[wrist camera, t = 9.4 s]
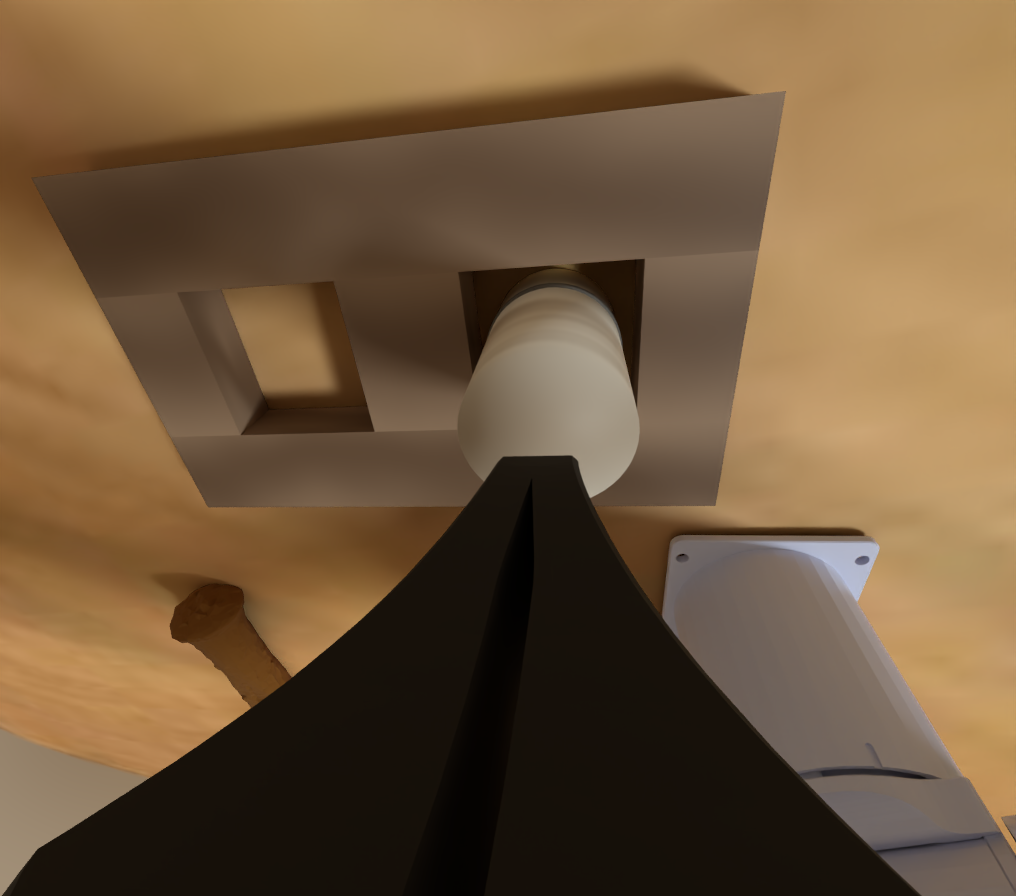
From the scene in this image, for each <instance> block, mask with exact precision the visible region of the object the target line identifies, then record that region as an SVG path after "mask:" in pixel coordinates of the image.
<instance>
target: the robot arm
mask: <svg viewBox="0 0 1016 896" xmlns="http://www.w3.org/2000/svg"><path fill="white" fill-rule="evenodd" d="M878 552H879V545H878V544H877V542H876V541H875V540H874V539H873V538H871V537H868V536H762V535H680V536H677V537H674V538H673V539H672V540H671V542H670V546H669V555H668V564H667V573H666V582H665V591H664V599H663V608H662V616H661V615H660V614H659V612H658V611H657V610H656V608H655V607H654V606H653V604H652V603H651V601H650V600H649V599H648V597H647V596H646V594H645V593H644V591H643V590H642V588H641V587H640V585H639V584H638V582H637V581H636V579H635V578H634V576H633V575H632V573H631V572H630V570H629V568H628V567H627V565H626V564H625V562H624V561H623V559H622V557H621V556H620V554H619V552H618V551H617V549H616V547H615V546H614V544H613V542H612V540H611V539H610V537H609V535H608V533H607V531H606V529H605V527H604V525H603V524H602V522H601V520H600V518H599V516H598V514H597V512H596V510H595V508H594V506H593V504H592V502H591V499H590V497H589V495H588V492H587V490H586V487H585V485H584V482H583V479H582V476H581V473H580V469H579V464H578V460H577V459H575V458H574V457H573V456H572V455H559V456H503V457H502V458H501V459H500V460H499V461H498V462H497V464H496V465H495V467H494V468H493V470H492V471H491V472H490V474H489V475H488V477H487V478H486V480H485V481H484V483H483V484H482V485H481V487H480V488H479V489H478V491H477V492H476V494H475V495H474V496H473V498H472V499H471V500H470V502H469V503H468V504H467V506H466V507H465V508H464V509H463V511H462V512H461V513H460V514H459V516H458V517H457V518H456V519H455V521H454V522H453V523H452V524H451V526H450V527H449V528H448V529H447V531H446V532H445V533H444V534H443V535H442V537H441V538H440V539H439V540H438V541H437V542H436V543H435V545H434V546H433V547H432V548H431V549H430V550H429V551H428V552H427V554H426V555H425V556H424V557H423V558H422V559H421V560H420V561H419V562H418V564H417V565H416V566H415V567H414V568H413V569H412V570H411V571H410V572H409V573H408V574H407V576H406V577H405V578H404V579H403V580H402V581H401V582H400V583H399V584H398V585H397V586H396V587H395V588H394V589H393V590H392V591H391V592H390V593H389V594H388V595H387V596H386V597H385V598H384V599H383V600H381V601H380V602H379V603H378V604H377V605H376V606H375V607H374V608H373V609H372V610H371V611H370V612H369V613H368V614H367V615H366V616H364V617H363V618H362V619H361V620H360V621H359V622H358V623H357V624H356V625H354V626H353V627H352V628H351V629H350V630H349V631H347V632H346V633H345V634H344V635H343V636H342V637H341V638H339V639H338V640H337V641H336V642H335V643H334V644H332V645H331V646H330V647H329V648H328V649H326V650H325V651H324V652H323V653H322V654H320V655H319V656H318V657H317V658H315V659H314V660H313V661H312V662H311V663H309V664H308V665H307V666H306V667H305V668H303V669H302V670H301V671H300V672H298V673H297V674H296V675H295V676H294V677H292V678H291V679H290V680H288V681H287V682H286V683H285V684H283V685H282V686H281V687H279V688H278V689H276V690H275V691H274V692H272V693H271V694H270V695H268V696H267V697H266V698H264V699H263V700H262V701H260V702H259V703H258V704H256V705H255V706H254V707H252V708H251V709H249V710H248V711H247V712H245V713H244V714H243V715H241V716H240V717H239V718H237V719H236V720H234V721H233V722H231V723H230V724H229V725H227V726H226V727H224V728H223V729H222V730H220V731H219V732H217V733H216V734H214V735H213V736H212V737H210V738H209V739H207V740H206V741H205V742H203V743H202V744H200V745H199V746H197V747H196V748H194V749H193V750H191V751H190V752H188V753H187V754H186V755H184V756H183V757H181V758H180V759H178V760H177V761H175V762H174V763H172V764H171V765H169V766H168V767H166V768H164V769H163V770H161V771H160V772H158V773H157V774H155V775H154V776H152V777H150V778H149V779H147V780H146V781H144V782H143V783H141V784H140V785H138V786H137V787H135V788H133V789H132V790H130V791H129V792H127V793H126V794H124V795H123V796H121V797H119V798H118V799H116V800H115V801H113V802H112V803H110V804H108V805H107V806H105V807H104V808H102V809H101V810H99V811H98V812H96V813H95V814H93V815H91V816H90V817H88V818H87V819H85V820H84V821H82V822H81V823H79V824H77V825H76V826H74V827H73V828H71V829H70V830H68V831H66V832H65V833H63V834H61V835H60V836H58V837H57V838H55V839H53V840H52V841H50V842H48V843H47V844H45V845H44V846H42V847H40V848H39V849H37V851H36V852H35V853H34V855H33V856H32V857H31V859H30V860H29V861H28V862H27V863H26V865H25V866H24V867H23V869H22V870H21V871H20V872H19V874H18V875H17V876H16V878H15V879H14V880H13V882H12V883H11V884H10V886H9V887H8V888H7V890H6V891H5V892H4V894H3V895H2V896H1016V855H1015V853H1014V852H1013V850H1012V848H1011V847H1010V845H1009V844H1008V842H1007V840H1006V839H1005V837H1004V836H1003V834H1002V832H1001V831H1000V829H999V827H998V826H997V824H996V823H995V821H994V819H993V818H992V816H991V814H990V813H989V811H988V810H987V808H986V806H985V805H984V803H983V801H982V800H981V798H980V797H979V795H978V793H977V792H976V790H975V788H974V787H973V785H972V784H971V782H970V780H969V779H968V778H966V777H964V776H963V775H962V773H961V771H960V770H959V768H958V767H957V765H956V763H955V762H954V760H953V758H952V757H951V755H950V753H949V752H948V750H947V749H946V747H945V745H944V744H943V742H942V740H941V739H940V737H939V735H938V734H937V732H936V731H935V729H934V727H933V726H932V724H931V722H930V721H929V719H928V717H927V716H926V714H925V713H924V711H923V709H922V708H921V706H920V704H919V703H918V701H917V699H916V698H915V696H914V695H913V693H912V691H911V690H910V688H909V686H908V685H907V683H906V681H905V680H904V678H903V677H902V675H901V673H900V672H899V670H898V668H897V667H896V665H895V663H894V662H893V660H892V659H891V657H890V655H889V654H888V652H887V650H886V649H885V647H884V645H883V644H882V642H881V641H880V639H879V637H878V636H877V634H876V632H875V631H874V629H873V627H872V626H871V624H870V623H869V621H868V619H867V618H866V616H865V614H864V613H863V611H862V610H861V608H860V606H859V605H858V603H857V602H858V599H859V597H860V594H861V592H862V590H863V587H864V585H865V583H866V580H867V578H868V576H869V573H870V571H871V568H872V566H873V564H874V561H875V559H876V557H877V554H878ZM679 554H685V555H683V556H678V555H679ZM860 556H861V557H860ZM858 557H859V558H858ZM1001 818H1002V820H1003V822H1004V823H1005V825H1006V827H1007V828H1008V830H1009V832H1010V833H1011V835H1012V837H1013V838H1014V840H1015V842H1016V815H1012V816H1005V817H1001Z"/></svg>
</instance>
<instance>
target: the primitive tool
mask: <svg viewBox="0 0 1016 896" xmlns="http://www.w3.org/2000/svg"><path fill="white" fill-rule="evenodd" d="M243 604H244V596H243V592H242V590H241V589H239V588H237V587H235V586H230V585H219V584H211V585H207V586H204V587H201V588H199V589H197V590H195V591H194V592H192V593H191V594H190V595H189V596H188V597H187V599H186V600H184V601H183V602H182V603H180V604H179V605H178V606H176V607H175V611H174V615H173V618H172V620H171V623H170V630H171V635H172V638H173V639H176V640H177V641H179V642H181V643H187V642H188V643H190V644H192V645H194V646H195V648H196V649H198V650H200V651H201V652H202V653H203V654H204V655H205V656H206V657H207V658H208V659H210V660H211V661H212V662H213V663H214V667H215V668H217V669H218V670H221V671H222V672H223V673H224V674H225V675H226V676H227V678H228V679H229V681H230V682H231V684H232V685H233V687H234V688H235V689H236V690H237V691H238V692H239V694H240V695H241V696H242V699H243V700H245V701H246V702H247V703H248V704H249V705H250V707H251V708H252V707H254V706H255V705H256V704H258V703H259V702H260V701H262V700H263V699H264V698H266V697H267V696H268V695H270V694H271V693H272V692H274V691H275V690H276V689H278V688H279V687H281V686H282V685H283V684H285V683H286V682H287V681H288V680H290V679H291V676H290V675H289V673H288V672H287V671H286V669H285V668H284V667H283V666H282V664H281V663H280V662H279V661H278V659H277V658H275V657H274V656H273V655H272V654H271V653H270V651H269V649H268V648H267V647H266V645H265V644H264V642H263V641H262V640H261V639H260V638H259V636H258V634H257V633H256V631H255V629H254V628H253V626H252V625H251V623H250V622H249V621H248V620H247V617H246V616H245V613H244V609H243Z"/></svg>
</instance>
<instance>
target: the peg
mask: <svg viewBox="0 0 1016 896" xmlns="http://www.w3.org/2000/svg"><path fill="white" fill-rule="evenodd" d="M457 430H458V438H459V442H460V446H461V449H462V452H463V454H464V456H465V458H466V460H467V462H468V463H469V465H470V467H471V468H472V469H473V470H474V472H475V473H476V474H477V475H478V476H479V477H480V478H481V479H482V480H483V481H485V480H486V478H487V477H488V475H489V474H490V472H491V471H492V470H493V468H494V467H495V465H496V464H497V462H498V461H499V460H500V459H501V458H502V457H503V456H559V455H572V456H573V457H574V458H575V459H577V460H578V464H579V469H580V473H581V476H582V479H583V482H584V485H585V487H586V490H587V492H588V495H589V497H590V498H591V497H593V496H595V495H597V494H599V493H601V492H603V491H604V490H606V489H607V488H608V487H610V486H611V485H612V484H613V483H615V482H616V481H617V480H618V479H619V478H620V477H621V476H622V474H623V473H624V472H625V471H626V469H627V468H628V466H629V465H630V463H631V461H632V459H633V457H634V455H635V452H636V449H637V446H638V442H639V433H640V427H639V417H638V412H637V408H636V404H635V399H634V395H633V391H632V387H631V383H630V379H629V374H628V370H627V366H626V362H625V358H624V354H623V347H622V338H621V333H620V329H619V327H618V324H617V321H616V319H615V316H614V312H613V308H612V306H611V303H610V301H609V299H608V297H607V295H606V294H605V293H604V291H603V290H602V289H601V288H600V287H599V285H598V284H597V283H595V282H594V281H593V280H591V279H590V278H588V277H587V276H585V275H583V274H581V273H578V272H576V271H572V270H568V269H546V270H542V271H538V272H535V273H533V274H531V275H529V276H527V277H525V278H524V279H522V280H521V281H519V282H518V283H517V284H516V285H515V286H514V287H513V288H512V289H511V290H510V291H509V293H508V294H507V296H506V297H505V299H504V301H503V303H502V305H501V307H500V310H499V312H498V313H497V315H496V316H495V318H494V320H493V322H492V325H491V327H490V330H489V333H488V337H487V341H486V344H485V346H484V349H483V351H482V353H481V356H480V358H479V361H478V363H477V366H476V368H475V370H474V373H473V375H472V378H471V380H470V383H469V385H468V388H467V390H466V392H465V395H464V397H463V400H462V403H461V406H460V409H459V414H458V423H457Z"/></svg>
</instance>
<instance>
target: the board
mask: <svg viewBox="0 0 1016 896" xmlns="http://www.w3.org/2000/svg"><path fill="white" fill-rule="evenodd" d="M785 93H786V91H782V92H773V93H764V94H755V95H747V96H738V97H729V98H721V99H712V100H703V101H695V102H686V103H677V104H669V105H660V106H651V107H642V108H634V109H625V110H616V111H608V112H599V113H590V114H582V115H573V116H564V117H556V118H547V119H538V120H529V121H521V122H512V123H503V124H495V125H486V126H477V127H469V128H460V129H451V130H442V131H434V132H425V133H416V134H408V135H399V136H390V137H382V138H373V139H364V140H356V141H347V142H338V143H329V144H321V145H312V146H303V147H295V148H286V149H277V150H269V151H260V152H251V153H243V154H234V155H225V156H216V157H208V158H199V159H190V160H182V161H173V162H164V163H156V164H147V165H138V166H129V167H121V168H112V169H103V170H95V171H86V172H77V173H69V174H60V175H51V176H43V177H34V178H32V180H33V182H34V184H35V186H36V187H37V189H38V191H39V193H40V195H41V197H42V199H43V201H44V202H45V204H46V206H47V208H48V210H49V212H50V214H51V215H52V217H53V219H54V221H55V223H56V225H57V227H58V228H59V230H60V232H61V234H62V236H63V238H64V240H65V242H66V243H67V245H68V247H69V249H70V251H71V253H72V255H73V256H74V258H75V260H76V262H77V264H78V266H79V268H80V270H81V271H82V273H83V275H84V277H85V279H86V281H87V283H88V284H89V286H90V288H91V290H92V292H93V294H94V296H95V297H96V299H97V301H98V303H99V305H100V307H101V309H102V311H103V312H104V314H105V316H106V318H107V320H108V322H109V324H110V325H111V327H112V329H113V331H114V333H115V335H116V337H117V338H118V340H119V342H120V344H121V346H122V348H123V350H124V352H125V353H126V355H127V357H128V359H129V361H130V363H131V365H132V366H133V368H134V370H135V372H136V374H137V376H138V378H139V379H140V381H141V383H142V385H143V387H144V389H145V391H146V393H147V394H148V396H149V398H150V400H151V402H152V404H153V406H154V407H155V409H156V411H157V413H158V415H159V417H160V419H161V420H162V422H163V424H164V426H165V428H166V430H167V432H168V434H169V435H170V437H171V439H172V441H173V443H174V445H175V447H176V448H177V450H178V452H179V454H180V456H181V458H182V460H183V462H184V463H185V465H186V467H187V469H188V471H189V473H190V475H191V476H192V478H193V480H194V482H195V484H196V486H197V488H198V489H199V491H200V493H201V495H202V497H203V499H204V501H205V503H206V504H207V506H208V507H466V506H467V504H468V503H469V502H470V500H471V499H472V498H473V496H474V495H475V494H476V492H477V491H478V489H479V488H480V487H481V485H482V484H483V483H484V481H483V480H482V479H481V478H480V477H479V476H478V475H477V474H476V473H475V472H474V470H473V469H472V468H471V467H470V465H469V463H468V462H467V460H466V458H465V456H464V454H463V452H462V449H461V446H460V442H459V438H458V430H457V423H458V414H459V409H460V406H461V403H462V400H463V397H464V395H465V392H466V390H467V388H468V385H469V383H470V380H471V378H472V375H473V373H474V370H475V368H476V366H477V363H478V361H479V358H480V356H481V353H482V347H481V339H480V331H479V323H478V315H477V307H476V300H475V292H474V284H473V276H472V271H480V270H494V269H508V268H521V267H535V266H549V265H563V264H577V263H590V262H604V261H618V260H632V259H636V274H635V297H634V319H633V342H632V364H631V387H632V391H633V395H634V399H635V404H636V408H637V412H638V417H639V427H640V433H639V442H638V446H637V449H636V452H635V455H634V457H633V459H632V461H631V463H630V465H629V466H628V468H627V469H626V471H625V472H624V473H623V474H622V476H621V477H620V478H619V479H618V480H617V481H616V482H615V483H613V484H612V485H611V486H610V487H608V488H607V489H606V490H604V491H603V492H601V493H599V494H597V495H595V496H593V497H591V498H590V499H591V502H592V504H593V506H715V505H716V499H717V493H718V487H719V481H720V475H721V470H722V464H723V458H724V452H725V446H726V440H727V434H728V428H729V422H730V417H731V411H732V405H733V399H734V393H735V387H736V381H737V375H738V369H739V364H740V358H741V352H742V346H743V340H744V334H745V328H746V322H747V317H748V311H749V305H750V299H751V293H752V287H753V281H754V275H755V269H756V264H757V258H758V252H759V246H760V240H761V234H762V228H763V222H764V216H765V211H766V205H767V199H768V193H769V187H770V181H771V175H772V169H773V163H774V158H775V152H776V146H777V140H778V134H779V128H780V122H781V116H782V110H783V105H784V99H785ZM328 281H333V282H334V286H335V289H336V293H337V296H338V300H339V304H340V307H341V311H342V315H343V318H344V322H345V325H346V329H347V333H348V336H349V340H350V344H351V347H352V351H353V355H354V358H355V362H356V365H357V369H358V373H359V376H360V380H361V384H362V387H363V391H364V395H365V398H366V402H367V405H368V406H363V407H333V408H304V409H274V410H269V409H268V407H267V404H266V402H265V399H264V397H263V394H262V392H261V389H260V387H259V384H258V381H257V379H256V376H255V374H254V371H253V369H252V366H251V364H250V361H249V359H248V356H247V354H246V351H245V349H244V346H243V344H242V341H241V339H240V336H239V334H238V331H237V329H236V326H235V324H234V321H233V319H232V316H231V314H230V311H229V309H228V306H227V304H226V301H225V299H224V296H223V294H222V291H221V289H232V288H245V287H259V286H273V285H287V284H301V283H314V282H328Z"/></svg>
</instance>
